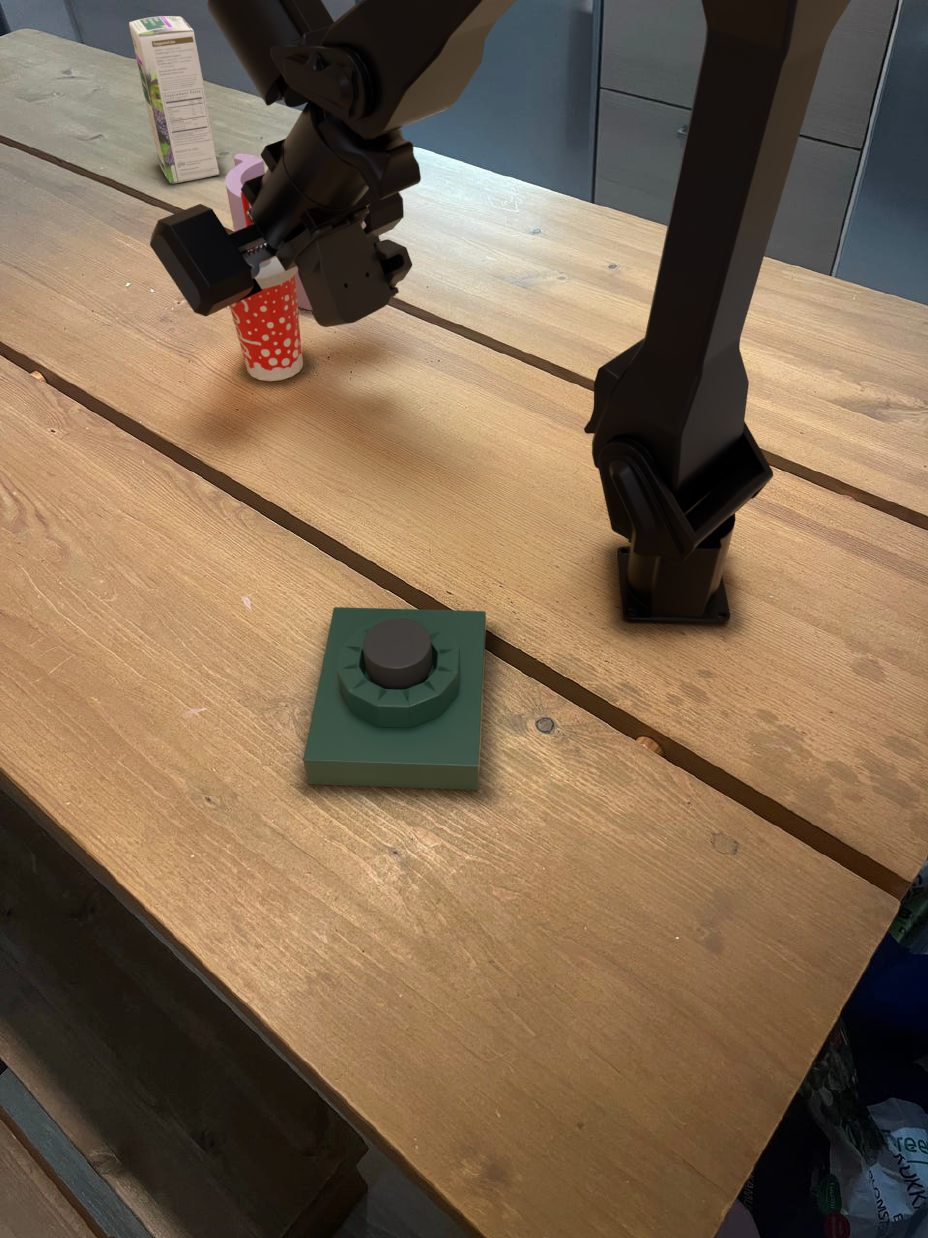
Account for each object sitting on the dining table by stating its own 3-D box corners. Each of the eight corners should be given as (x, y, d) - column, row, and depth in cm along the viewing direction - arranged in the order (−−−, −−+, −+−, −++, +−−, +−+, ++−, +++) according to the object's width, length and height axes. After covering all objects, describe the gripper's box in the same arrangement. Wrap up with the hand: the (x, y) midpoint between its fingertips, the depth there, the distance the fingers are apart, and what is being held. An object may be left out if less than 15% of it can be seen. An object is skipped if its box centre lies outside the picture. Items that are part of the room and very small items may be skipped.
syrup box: (158, 166, 108) (124, 19, 97) (209, 157, 109) (181, 12, 99) (170, 185, 104) (135, 34, 94) (222, 175, 106) (194, 26, 95)
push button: (429, 691, 50) (428, 669, 49) (361, 689, 50) (358, 667, 49) (434, 640, 52) (433, 618, 51) (369, 638, 53) (367, 616, 51)
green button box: (478, 790, 50) (478, 745, 47) (308, 784, 50) (297, 739, 47) (485, 636, 57) (485, 588, 55) (337, 632, 58) (330, 584, 55)
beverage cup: (231, 355, 80) (193, 183, 70) (302, 340, 81) (276, 170, 71) (246, 392, 76) (208, 216, 66) (320, 376, 77) (295, 202, 67)
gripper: (284, 334, 57) (211, 420, 71) (489, 230, 67) (391, 323, 80) (175, 166, 55) (121, 287, 69) (402, 84, 65) (316, 204, 78)
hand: (248, 278), depth 74 cm, fingers closed on beverage cup, 6 cm apart
